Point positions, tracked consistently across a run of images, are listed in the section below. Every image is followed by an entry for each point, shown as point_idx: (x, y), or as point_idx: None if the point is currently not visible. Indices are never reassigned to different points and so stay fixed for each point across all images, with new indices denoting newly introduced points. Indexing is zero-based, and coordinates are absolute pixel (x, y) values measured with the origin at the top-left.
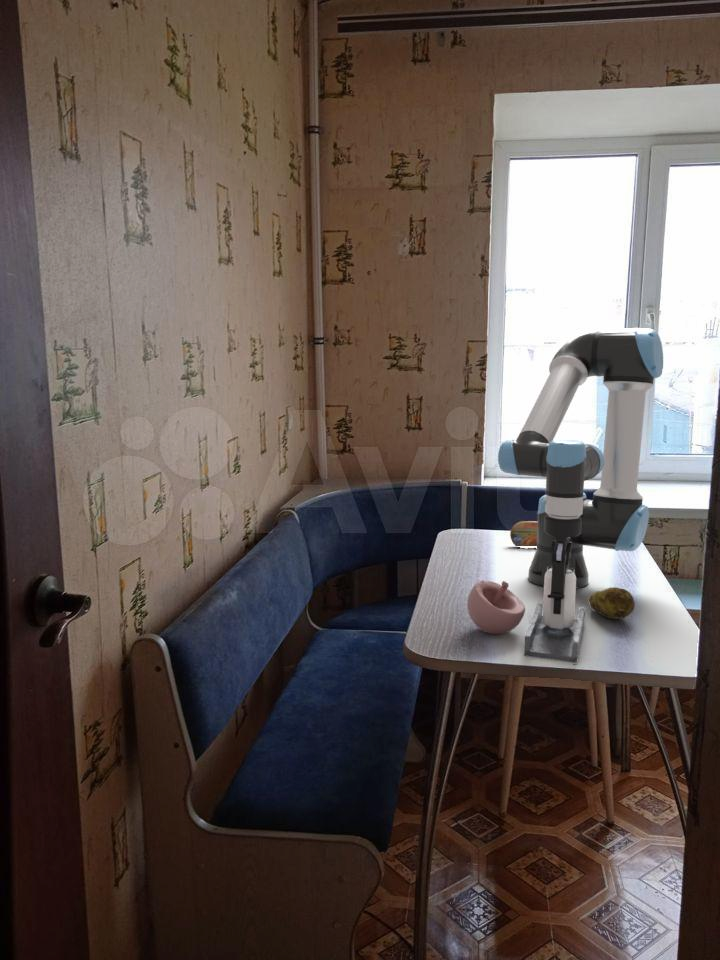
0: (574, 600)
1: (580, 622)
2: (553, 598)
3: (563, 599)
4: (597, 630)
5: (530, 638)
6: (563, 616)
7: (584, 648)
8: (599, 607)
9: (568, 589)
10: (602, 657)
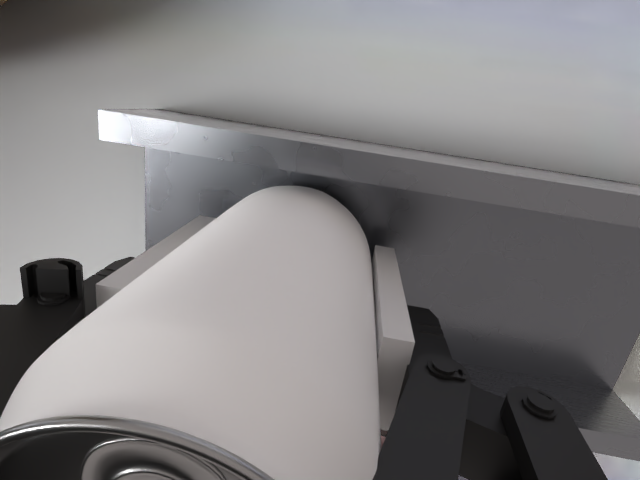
0: (299, 233)
1: (400, 166)
2: (395, 411)
3: (410, 345)
4: (216, 43)
5: (623, 424)
6: (399, 277)
7: (490, 137)
8: (1, 2)
9: (364, 352)
10: (615, 53)
